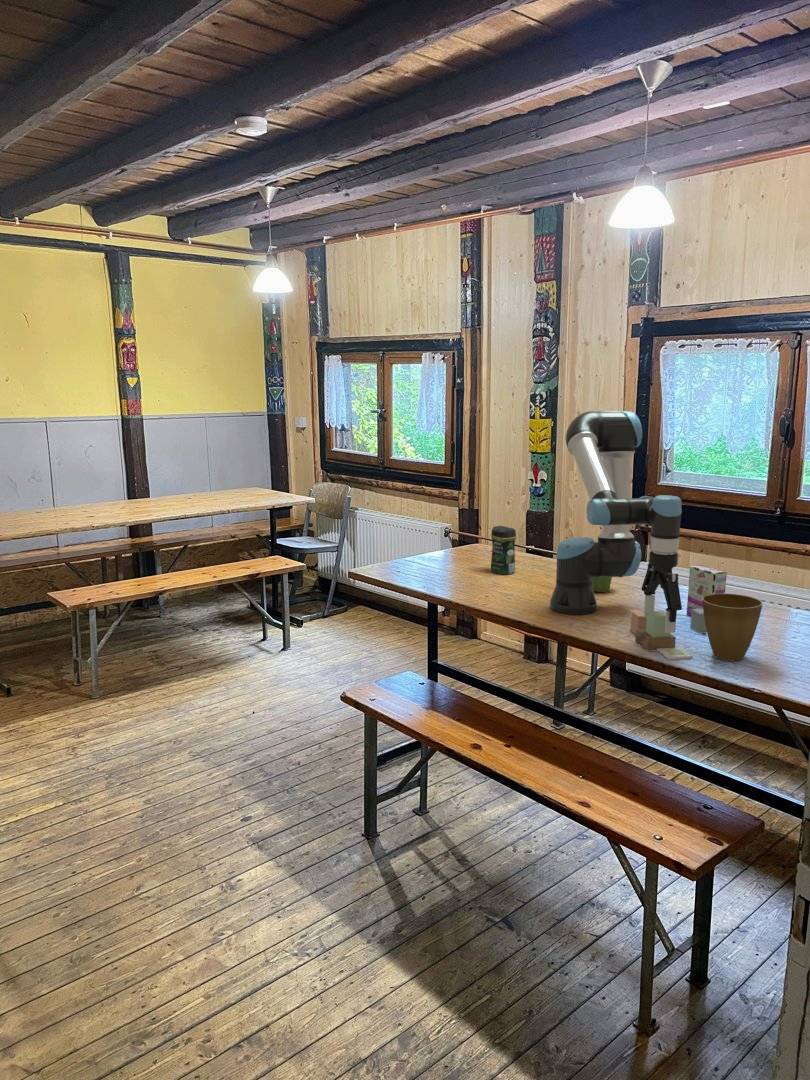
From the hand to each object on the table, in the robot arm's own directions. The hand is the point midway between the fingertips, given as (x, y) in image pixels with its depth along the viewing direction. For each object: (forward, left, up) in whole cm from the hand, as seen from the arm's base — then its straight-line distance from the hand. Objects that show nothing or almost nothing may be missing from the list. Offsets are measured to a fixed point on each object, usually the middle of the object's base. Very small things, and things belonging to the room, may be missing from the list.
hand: (658, 624), depth 214 cm
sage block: (+1, -1, -2) cm, 3 cm away
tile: (+8, +1, -6) cm, 10 cm away
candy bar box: (-21, +25, -6) cm, 33 cm away
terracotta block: (-11, 0, -6) cm, 12 cm away
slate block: (-11, +19, -6) cm, 23 cm away
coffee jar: (-90, -23, -6) cm, 93 cm away
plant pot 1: (-59, +5, -6) cm, 59 cm away
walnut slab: (+1, -1, -6) cm, 6 cm away
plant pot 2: (+12, +14, -6) cm, 20 cm away
